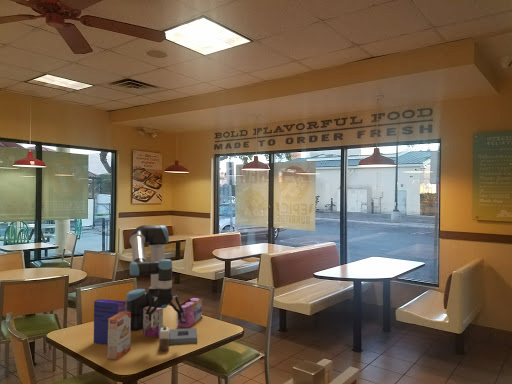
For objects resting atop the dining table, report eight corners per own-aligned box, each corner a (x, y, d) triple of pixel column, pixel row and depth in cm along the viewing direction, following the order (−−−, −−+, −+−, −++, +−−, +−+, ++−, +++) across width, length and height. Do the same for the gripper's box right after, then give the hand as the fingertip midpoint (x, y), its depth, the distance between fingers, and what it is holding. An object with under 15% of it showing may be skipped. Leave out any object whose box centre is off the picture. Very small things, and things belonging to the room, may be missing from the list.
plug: (160, 349, 214) (160, 329, 214) (160, 345, 220) (160, 325, 220) (168, 349, 214) (168, 329, 215) (168, 345, 221) (169, 325, 221)
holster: (159, 351, 212) (159, 340, 212) (160, 344, 222) (160, 333, 222) (168, 350, 213) (168, 339, 213) (169, 343, 223) (169, 333, 223)
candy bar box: (142, 335, 235) (142, 308, 235) (147, 332, 240) (147, 305, 240) (158, 337, 231) (158, 310, 231) (163, 335, 236) (163, 307, 236)
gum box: (187, 328, 248) (187, 307, 248) (176, 327, 250) (176, 305, 250) (202, 317, 271) (202, 297, 271) (192, 316, 273) (192, 296, 273)
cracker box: (117, 360, 200) (118, 319, 200) (106, 359, 201) (107, 318, 201) (131, 349, 214) (131, 311, 214) (120, 348, 215) (121, 310, 215)
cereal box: (125, 343, 223) (126, 301, 223) (120, 346, 218) (121, 303, 218) (99, 340, 227) (99, 298, 227) (93, 343, 223) (94, 300, 223)
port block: (168, 344, 222) (168, 339, 222) (169, 334, 237) (169, 329, 237) (197, 342, 224) (197, 337, 224) (196, 332, 240) (196, 328, 240)
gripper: (141, 289, 212) (140, 329, 211) (187, 288, 216) (187, 327, 215) (142, 286, 219) (142, 325, 219) (187, 285, 223) (187, 322, 223)
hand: (164, 326), depth 217 cm, fingers open, 13 cm apart
